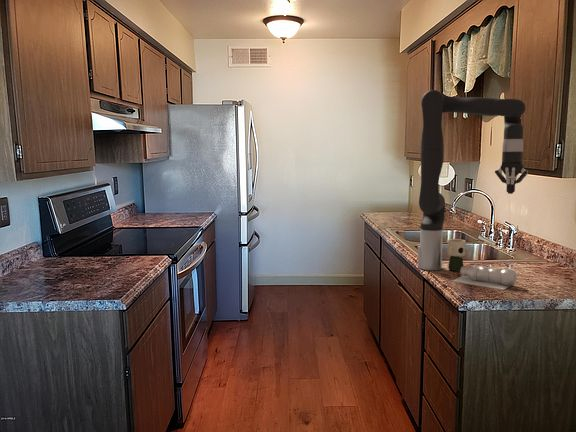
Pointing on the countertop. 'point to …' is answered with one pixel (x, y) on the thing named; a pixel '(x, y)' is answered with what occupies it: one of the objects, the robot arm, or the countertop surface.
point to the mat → (480, 283)
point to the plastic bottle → (490, 274)
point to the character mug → (456, 253)
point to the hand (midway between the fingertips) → (510, 193)
